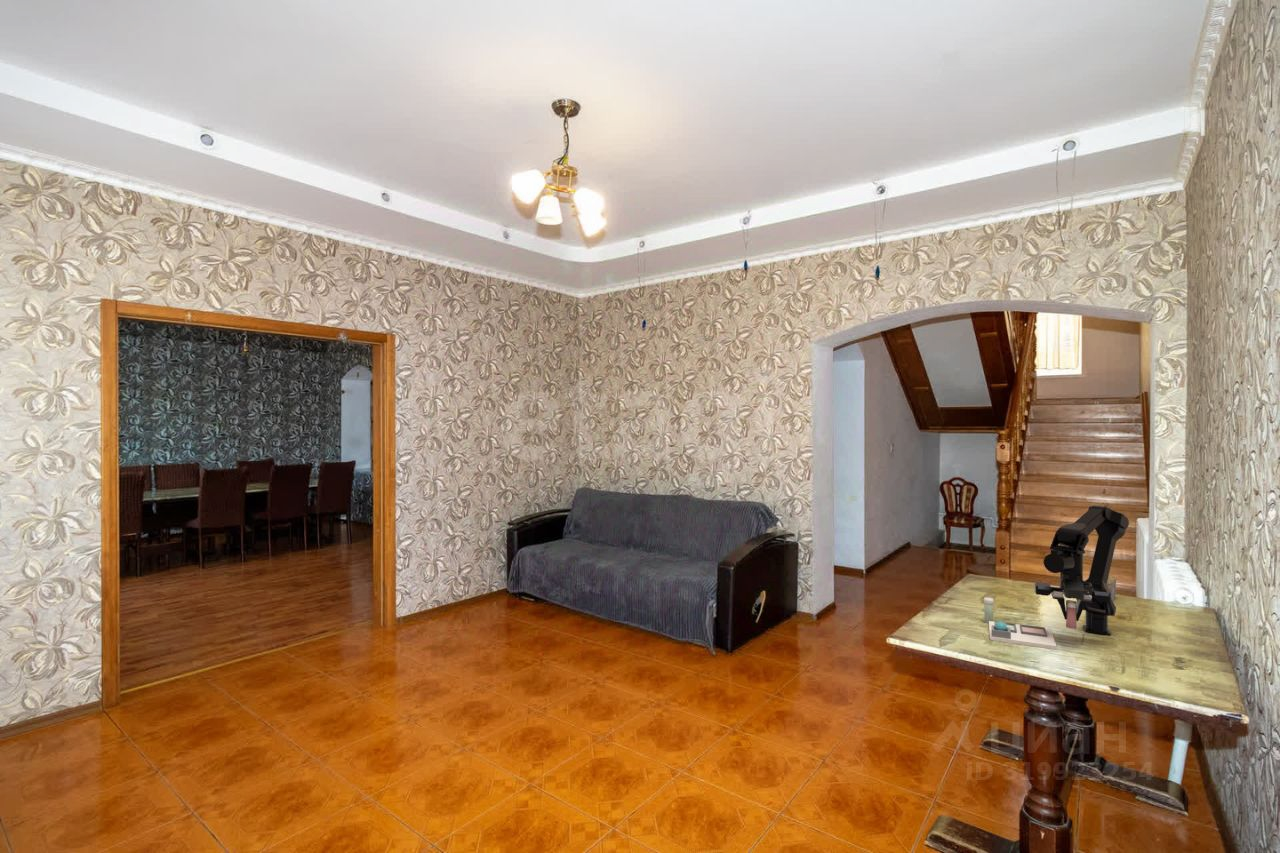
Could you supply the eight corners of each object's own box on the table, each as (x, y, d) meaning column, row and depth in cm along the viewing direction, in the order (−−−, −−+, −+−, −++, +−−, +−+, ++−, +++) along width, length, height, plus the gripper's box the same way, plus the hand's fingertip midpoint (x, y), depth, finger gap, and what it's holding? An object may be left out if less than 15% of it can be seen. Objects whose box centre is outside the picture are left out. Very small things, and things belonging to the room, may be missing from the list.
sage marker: (984, 620, 208) (984, 596, 208) (993, 621, 206) (993, 597, 206) (984, 622, 205) (984, 598, 205) (993, 624, 204) (993, 599, 204)
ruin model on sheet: (1106, 597, 237) (1106, 571, 237) (1116, 598, 235) (1115, 573, 235) (1100, 603, 229) (1100, 577, 229) (1110, 604, 227) (1110, 578, 227)
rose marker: (1065, 625, 191) (1065, 599, 191) (1076, 626, 190) (1076, 600, 190) (1066, 628, 189) (1066, 601, 189) (1077, 629, 187) (1077, 603, 187)
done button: (995, 628, 192) (995, 621, 192) (1006, 630, 191) (1006, 622, 191) (995, 631, 190) (995, 623, 190) (1006, 633, 188) (1006, 625, 188)
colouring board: (988, 624, 204) (988, 614, 204) (1050, 632, 196) (1050, 622, 196) (989, 639, 189) (989, 630, 189) (1056, 649, 181) (1056, 639, 181)
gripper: (1037, 571, 186) (1037, 622, 187) (1114, 578, 178) (1114, 632, 178) (1034, 563, 196) (1034, 612, 196) (1107, 570, 187) (1107, 621, 187)
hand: (1071, 619), depth 189 cm, fingers closed on rose marker, 3 cm apart
